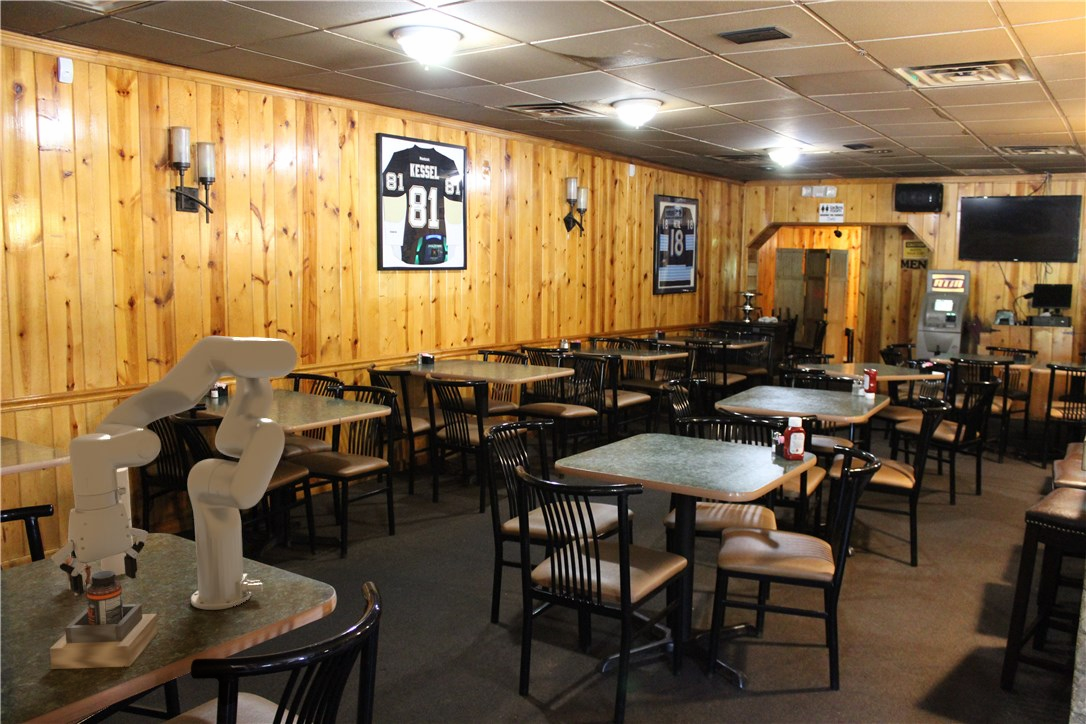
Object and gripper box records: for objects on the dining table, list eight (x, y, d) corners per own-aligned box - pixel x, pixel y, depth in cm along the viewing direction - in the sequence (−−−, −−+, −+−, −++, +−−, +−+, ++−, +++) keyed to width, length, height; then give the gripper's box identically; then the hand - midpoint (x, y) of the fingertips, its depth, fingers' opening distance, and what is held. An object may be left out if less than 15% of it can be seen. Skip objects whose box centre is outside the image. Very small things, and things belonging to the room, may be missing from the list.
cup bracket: (157, 632, 171) (155, 599, 170) (129, 666, 157) (127, 630, 156) (86, 634, 170) (83, 601, 169) (51, 669, 156) (48, 633, 155)
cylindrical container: (125, 575, 200) (118, 473, 197) (95, 575, 200) (88, 473, 197) (139, 564, 207) (133, 465, 204) (111, 564, 207) (104, 465, 204)
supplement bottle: (84, 629, 163) (81, 573, 162) (117, 620, 167) (114, 565, 166) (95, 639, 159) (91, 582, 158) (128, 629, 163) (125, 573, 162)
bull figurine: (73, 604, 184) (70, 569, 183) (65, 585, 195) (62, 551, 194) (95, 600, 187) (93, 564, 186) (86, 580, 197) (83, 547, 196)
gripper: (134, 484, 168) (141, 566, 171) (39, 506, 155) (48, 594, 158) (151, 492, 164) (158, 575, 166) (55, 515, 151) (64, 605, 153)
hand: (105, 584), depth 162 cm, fingers open, 9 cm apart
